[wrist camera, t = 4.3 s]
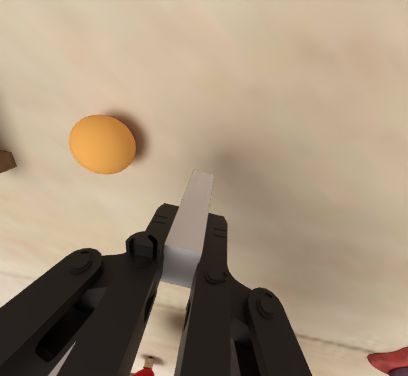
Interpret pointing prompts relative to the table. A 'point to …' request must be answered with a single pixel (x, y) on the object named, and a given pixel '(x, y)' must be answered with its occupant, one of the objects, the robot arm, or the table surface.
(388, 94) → the table surface
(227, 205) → the table surface
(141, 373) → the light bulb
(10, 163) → the bridge
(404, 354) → the stacking bear
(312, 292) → the table surface
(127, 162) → the ball
